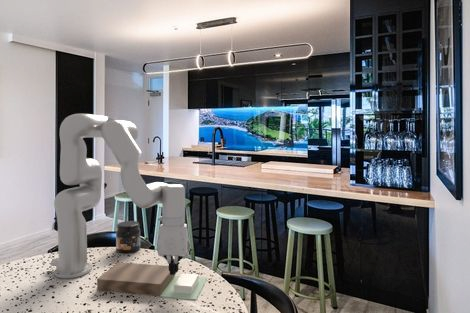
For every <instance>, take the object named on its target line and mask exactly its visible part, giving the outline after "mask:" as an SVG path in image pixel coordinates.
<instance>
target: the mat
mask: <svg viewBox="0 0 470 313" xmlns="http://www.w3.org/2000/svg"><path fill="white" fill-rule="evenodd" d="M180 276H181V275H175V276H174V278H173V279H172V281H171V282H170V283H169V285H168V286H167V287H166V289H165V290H164V291H163V293H162V294H161V295H160V296H159V297H160V298H168V299H178V300H179V299H180V300H191V301H197V299H198V298H199V295H200V294H201V291H202V289H203V288H204V285H205V284H206V282H207V280H208V278H207V277H199V281H198V283H197V285H196V287H195V289H194V290H193V292H192V294H187V293H176V292H174V284H175V283H176V281H177V280H178V279H179V277H180Z"/></svg>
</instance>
